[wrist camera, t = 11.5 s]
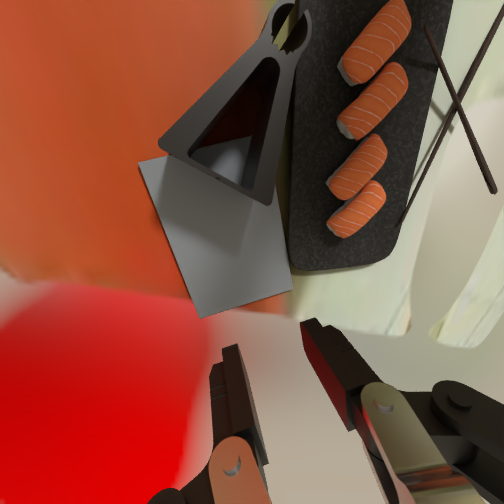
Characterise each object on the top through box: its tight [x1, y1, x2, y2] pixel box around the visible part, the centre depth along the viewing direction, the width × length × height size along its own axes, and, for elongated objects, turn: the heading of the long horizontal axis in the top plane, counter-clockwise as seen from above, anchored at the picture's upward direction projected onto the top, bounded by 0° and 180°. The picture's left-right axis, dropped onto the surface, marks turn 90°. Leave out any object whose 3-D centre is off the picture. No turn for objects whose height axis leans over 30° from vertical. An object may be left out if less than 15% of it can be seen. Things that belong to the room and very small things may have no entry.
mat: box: [138, 136, 293, 319], centre depth 26 cm, size 12×18×1 cm, turn 13°
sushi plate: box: [288, 0, 504, 271], centre depth 25 cm, size 29×30×4 cm
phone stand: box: [158, 0, 312, 206], centre depth 19 cm, size 9×6×12 cm
